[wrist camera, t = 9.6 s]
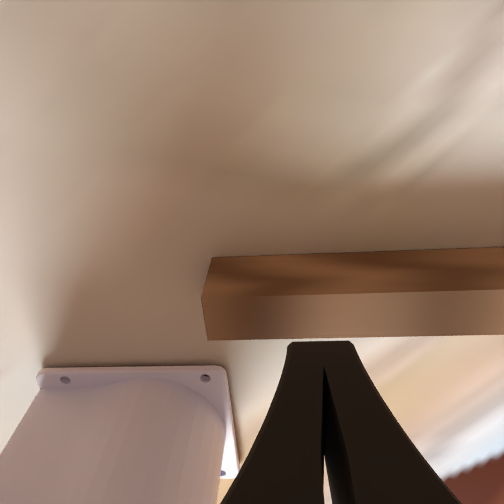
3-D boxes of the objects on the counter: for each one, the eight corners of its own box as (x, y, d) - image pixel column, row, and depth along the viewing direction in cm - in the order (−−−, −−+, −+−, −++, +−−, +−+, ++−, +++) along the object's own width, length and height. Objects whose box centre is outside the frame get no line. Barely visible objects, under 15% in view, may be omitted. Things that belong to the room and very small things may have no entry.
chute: (217, 298, 21) (205, 352, 18) (150, -196, 13) (108, -253, 10) (627, 286, 20) (692, 344, 16) (834, -283, 12) (1037, -383, 8)
